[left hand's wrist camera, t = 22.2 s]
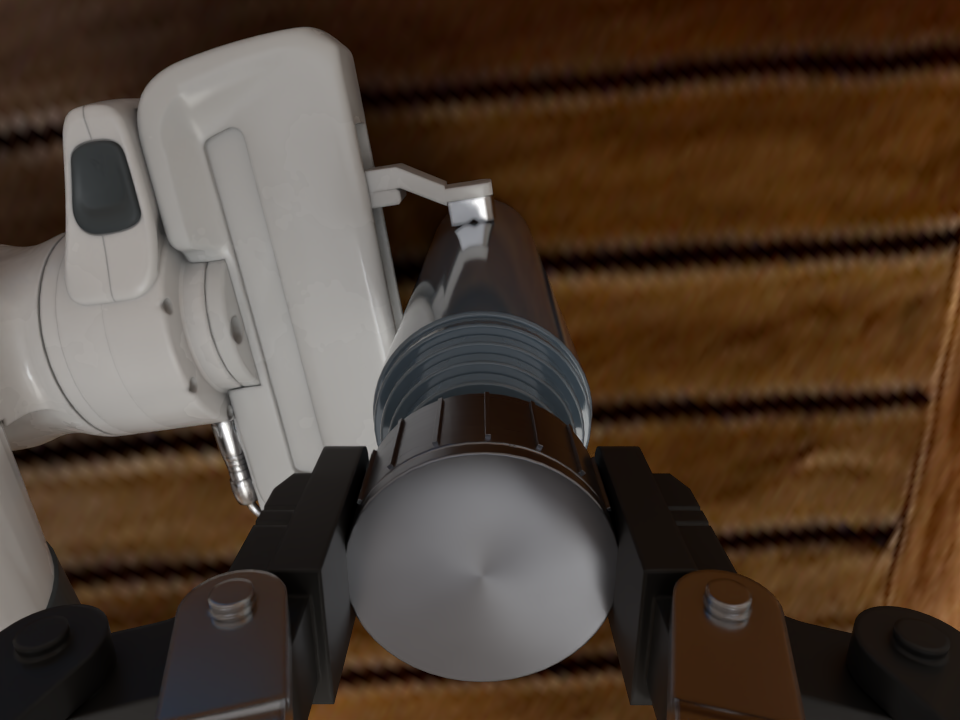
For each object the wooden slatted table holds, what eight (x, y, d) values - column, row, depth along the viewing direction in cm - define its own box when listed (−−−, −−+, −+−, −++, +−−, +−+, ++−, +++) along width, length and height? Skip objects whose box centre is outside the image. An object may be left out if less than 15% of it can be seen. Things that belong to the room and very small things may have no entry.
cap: (399, 613, 13) (385, 706, 11) (330, 419, 12) (298, 484, 10) (617, 570, 13) (643, 658, 11) (574, 364, 11) (595, 420, 9)
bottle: (551, 229, 33) (703, 495, 10) (503, 314, 35) (540, 712, 12) (461, 179, 32) (409, 349, 9) (416, 269, 34) (275, 602, 11)
